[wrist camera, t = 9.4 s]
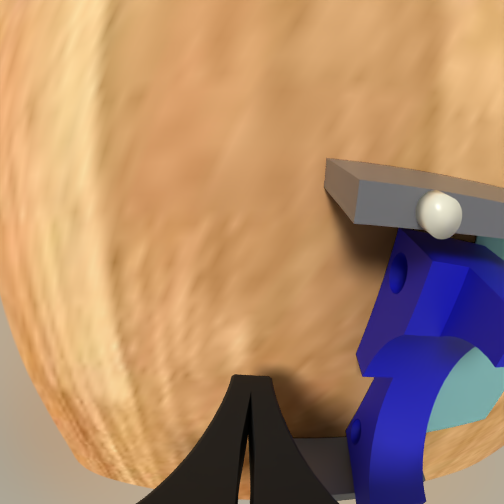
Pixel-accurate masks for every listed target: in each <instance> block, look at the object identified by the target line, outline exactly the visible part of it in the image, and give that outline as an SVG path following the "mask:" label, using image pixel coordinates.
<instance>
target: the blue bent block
mask: <svg viewBox="0 0 504 504" xmlns="http://www.w3.org/2000/svg"><path fill="white" fill-rule="evenodd" d="M474 347H477V348H478V349H479V350H480V351H481V352H482V353H483V354H484V355H485V356H487V358H488V359H489V360H490V361H491V363H492V364H493V365H494V367H495V368H498V367H504V260H502V259H501V258H500V257H499V256H497V255H496V254H495V253H493V252H492V251H491V250H489V249H488V248H487V247H486V246H483V245H479V244H475V243H471V242H466V241H462V240H457V239H453V238H447V239H437V238H435V237H433V236H432V235H431V234H429V233H425V232H420V231H415V230H410V229H405V228H399V229H398V232H397V236H396V239H395V243H394V246H393V250H392V253H391V257H390V260H389V263H388V266H387V269H386V273H385V276H384V279H383V282H382V285H381V288H380V291H379V294H378V297H377V300H376V302H375V305H374V308H373V311H372V314H371V316H370V319H369V322H368V324H367V327H366V330H365V332H364V335H363V338H362V340H361V343H360V345H359V348H358V350H357V353H356V355H357V359H358V362H359V366H360V369H361V373H362V377H375V378H374V380H373V382H372V384H371V386H370V388H369V390H368V392H367V394H366V395H365V397H364V399H363V401H362V403H361V405H360V407H359V408H358V410H357V412H356V414H355V416H354V417H353V419H352V421H351V423H350V424H349V426H348V428H347V429H346V436H347V442H348V448H349V455H350V461H351V468H352V475H353V483H354V490H355V498H356V504H423V503H425V502H426V498H425V494H424V486H423V450H424V442H425V436H426V431H427V426H428V422H429V418H430V415H431V412H432V409H433V405H434V403H435V400H436V398H437V395H438V393H439V391H440V389H441V387H442V385H443V383H444V381H445V379H446V378H447V376H448V375H449V373H450V372H451V370H452V369H453V367H454V366H455V365H456V364H457V362H458V361H459V360H460V359H461V358H462V357H463V356H464V355H465V354H466V353H467V352H469V351H470V350H471V349H472V348H474Z"/></svg>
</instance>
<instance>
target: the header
mask: <svg viewBox="0 0 504 504" xmlns="http://www.w3.org/2000/svg"><path fill="white" fill-rule="evenodd" d="M324 188H325V189H326V190H327V191H328V193H329V194H330V195H331V196H332V197H333V199H334V200H335V201H336V202H337V203H338V205H339V206H340V207H341V208H342V210H343V211H344V212H345V213H346V215H347V216H348V217H349V218H350V220H351V221H352V222H353V223H354V224H365V225H377V226H388V227H399V228H410V229H420V230H426V231H427V232H428V233H429V234H431V235H432V236H433V237H435V238H437V239H447V238H449V237H451V236H452V235H454V234H455V233H458V234H467V235H476V236H484V237H492V238H500V239H504V188H500V187H496V186H492V185H488V184H484V183H479V182H475V181H470V180H466V179H461V178H456V177H451V176H446V175H441V174H435V173H430V172H424V171H418V170H412V169H406V168H400V167H393V166H387V165H380V164H372V163H364V162H356V161H348V160H339V159H329V158H327V159H326V171H325V181H324ZM293 439H294V441H295V443H296V445H297V447H298V449H299V450H300V452H301V454H302V456H303V457H304V459H305V460H306V462H307V464H308V465H309V467H310V468H311V470H312V471H313V472H314V474H315V475H316V477H317V478H318V479H319V481H320V482H321V483H322V484H323V486H324V487H325V488H326V489H327V491H328V492H329V493H330V494H331V495H332V497H333V498H334V499H335V500H336V501H340V500H349V499H356V498H355V490H354V483H353V475H352V468H351V461H350V455H349V448H348V442H347V437H335V438H293ZM424 481H425V477H424V474H423V482H424Z"/></svg>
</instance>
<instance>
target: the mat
mask: <svg viewBox="0 0 504 504" xmlns="http://www.w3.org/2000/svg"><path fill="white" fill-rule="evenodd" d="M475 244H479V245H483V246H486V247H487V248H488V249H489V250H491V251H492V252H493V253H495V254H496V255H497V256H499V257H500V258H501V259H502V260H504V239H500V238H492V237H484V236H477V237H476V241H475ZM503 392H504V367H498V368H495V367H494V365H493V364H492V363H491V361H490V360H489V359H488V358H487V356H485V355H484V354H483V353H482V352H481V351H480V350H479V349H478V348H477V347H474V348H472V349H471V350H470V351H469V352H467V353H466V354H465V355H464V356H463V357H462V358H461V359H460V360H459V361H458V362H457V364H456V365H455V366H454V367H453V369H452V370H451V372H450V373H449V375H448V376H447V378H446V379H445V381H444V383H443V385H442V387H441V389H440V391H439V393H438V395H437V398H436V400H435V403H434V405H433V409H432V412H431V415H430V418H429V422H428V426H427V431H426V432H431V431H436V430H441V429H446V428H450V427H455V426H459V425H463V424H467V423H471V422H475V421H479V420H483V419H485V418H486V417H487V415H488V414H489V412H490V411H491V410H492V408H493V407H494V405H495V404H496V402H497V401H498V399H499V398H500V396H501V395H502V393H503Z"/></svg>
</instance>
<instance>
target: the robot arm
mask: <svg viewBox="0 0 504 504" xmlns="http://www.w3.org/2000/svg"><path fill="white" fill-rule="evenodd" d="M247 438H248V441H249V463H250V492H251V493H250V504H339V503H338V502H337V501H336V500H335V499H334V498H333V497H332V495H331V494H330V493H329V492H328V491H327V489H326V488H325V487H324V486H323V484H322V483H321V482H320V481H319V479H318V478H317V477H316V475H315V474H314V472H313V471H312V470H311V468H310V467H309V465H308V464H307V462H306V460H305V459H304V457H303V456H302V454H301V452H300V450H299V449H298V447H297V445H296V443H295V441H294V439H293V437H292V435H291V433H290V431H289V429H288V427H287V425H286V422H285V420H284V418H283V415H282V413H281V410H280V408H279V405H278V402H277V399H276V395H275V392H274V388H273V383H272V378H271V377H269V376H253V375H237V374H235V375H233V376H232V377H231V381H230V384H229V387H228V390H227V392H226V394H225V397H224V399H223V401H222V403H221V405H220V407H219V409H218V411H217V412H216V414H215V416H214V418H213V420H212V421H211V423H210V424H209V426H208V428H207V429H206V431H205V432H204V434H203V435H202V437H201V438H200V440H199V441H198V442H197V444H196V445H195V447H194V448H193V449H192V450H191V452H190V453H189V454H188V455H187V457H186V458H185V459H184V460H183V461H182V462H181V463H180V465H179V466H178V467H177V468H176V469H175V470H174V471H173V472H172V473H171V474H170V475H169V476H168V477H167V478H166V479H165V480H164V481H163V482H162V483H161V484H160V485H159V486H157V487H156V488H155V489H154V490H153V491H152V492H151V493H149V494H148V495H147V496H146V497H145V498H143V499H142V500H140V501H139V502H138V503H136V504H238V493H239V485H240V479H241V473H242V467H243V462H244V456H245V450H246V444H247Z"/></svg>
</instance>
